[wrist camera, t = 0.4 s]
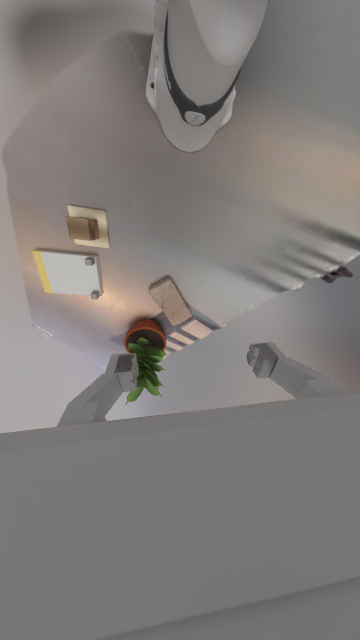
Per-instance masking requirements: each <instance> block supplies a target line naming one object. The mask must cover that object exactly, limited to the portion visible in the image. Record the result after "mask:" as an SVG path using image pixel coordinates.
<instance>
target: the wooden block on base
mask: <svg viewBox="0 0 360 640" xmlns="http://www.w3.org/2000/svg"><path fill="white" fill-rule="evenodd" d="M67 206H68V205H67ZM68 211H69V216H70V217H69V216H66V221H67V225H68V230H69V235H70V239H74V241H75V244H76V245H85V246H94V247H103V248H110V241H109V230H108V220H107V211H103V210H96V209H89V208H82V207H75V206H68Z"/></svg>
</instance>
